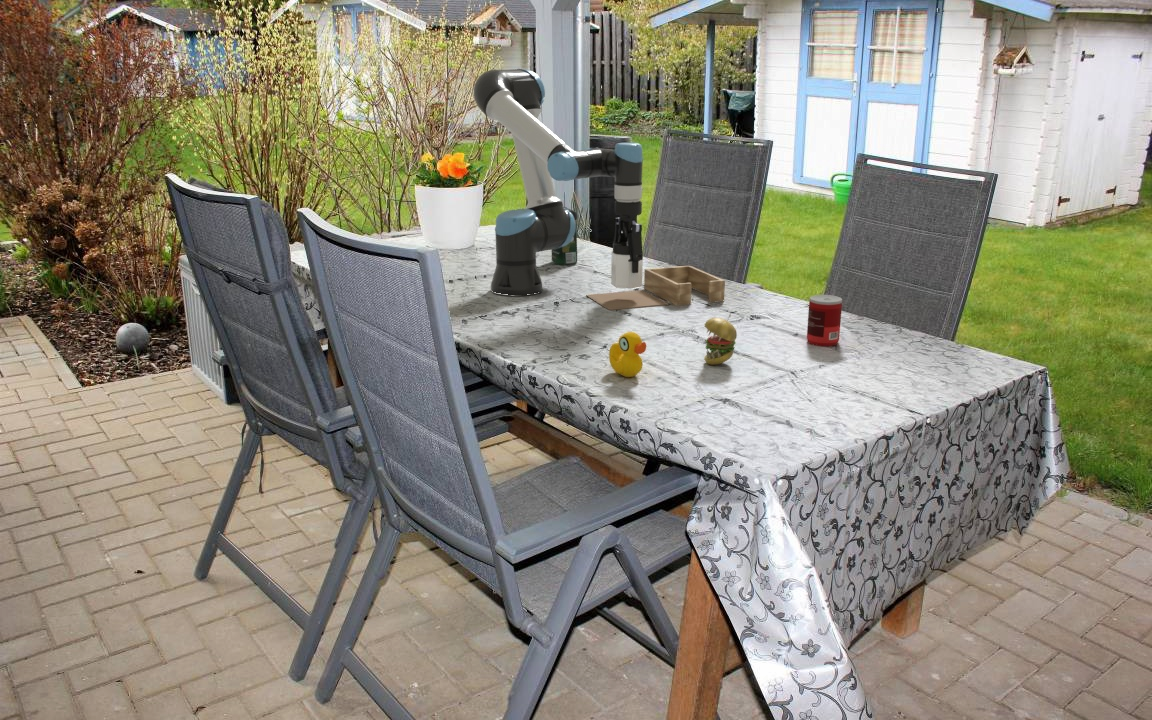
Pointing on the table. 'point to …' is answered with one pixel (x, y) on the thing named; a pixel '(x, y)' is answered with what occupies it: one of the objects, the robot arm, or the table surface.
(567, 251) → the coffee jar
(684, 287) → the crate
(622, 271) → the jar
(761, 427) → the table surface
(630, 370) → the duckling
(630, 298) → the mat
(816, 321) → the canned food
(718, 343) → the hamburger
